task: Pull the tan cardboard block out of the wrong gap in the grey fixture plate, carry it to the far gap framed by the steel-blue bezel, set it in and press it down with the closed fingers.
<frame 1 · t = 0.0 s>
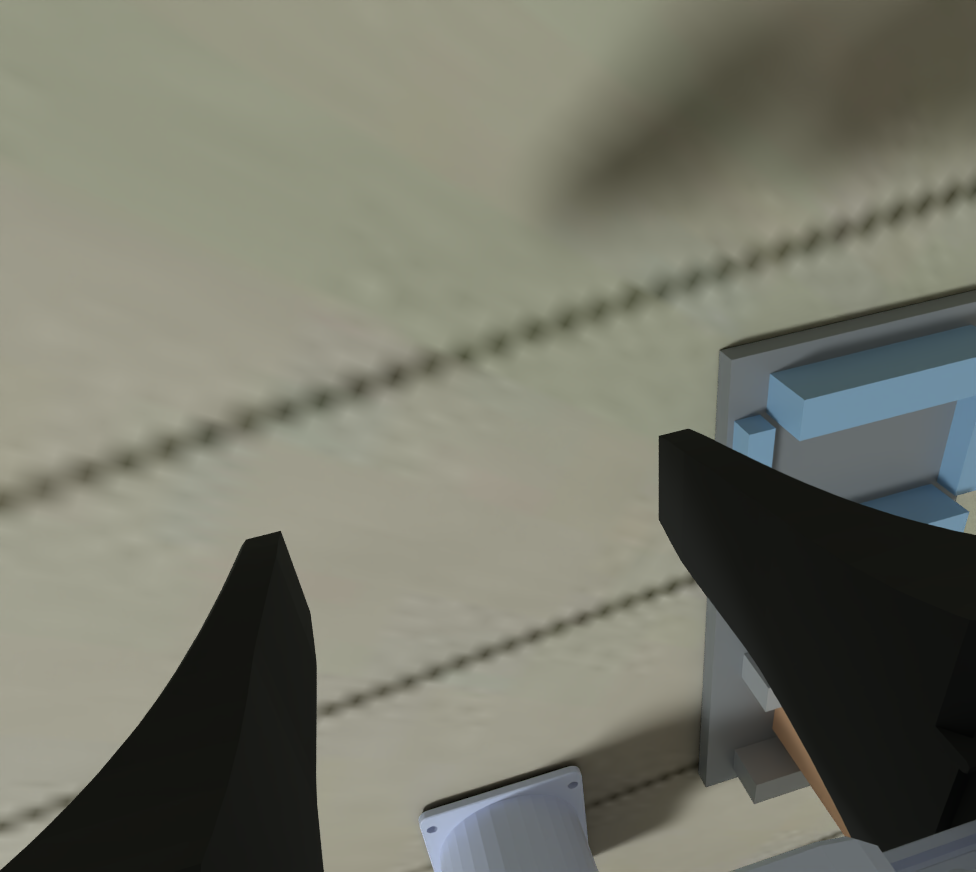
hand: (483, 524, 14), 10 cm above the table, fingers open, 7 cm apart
grey fixture plate: (819, 573, 33), on the table
tan cardboard block: (812, 691, 36), point 1 cm above the table, touching grey fixture plate
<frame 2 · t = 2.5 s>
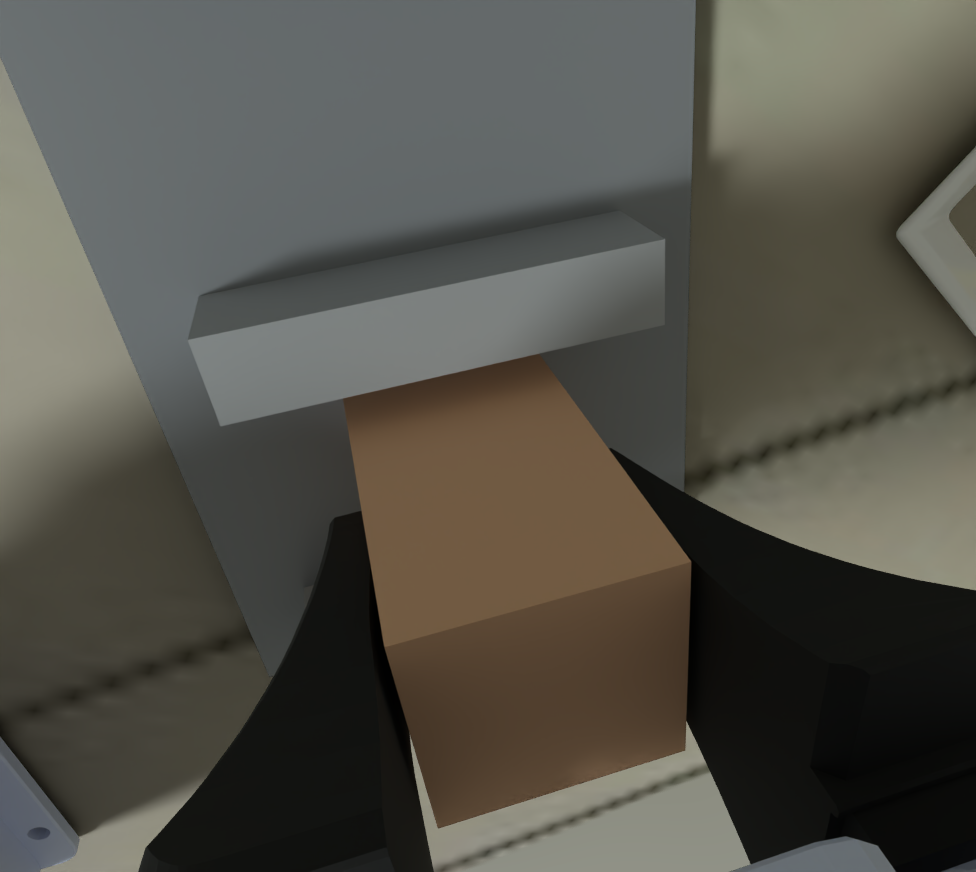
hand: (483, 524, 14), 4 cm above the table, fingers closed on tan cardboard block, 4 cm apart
grey fixture plate: (381, 82, 13), on the table
tan cardboard block: (453, 446, 16), point 1 cm above the table, touching grey fixture plate, gripper
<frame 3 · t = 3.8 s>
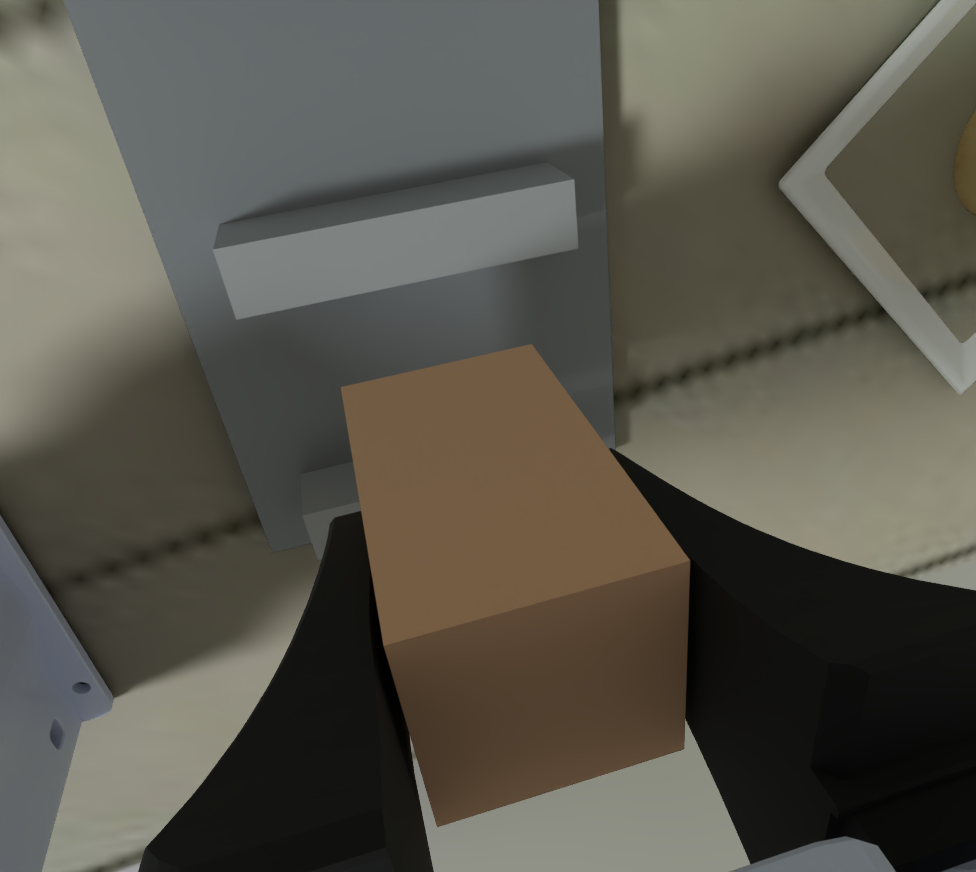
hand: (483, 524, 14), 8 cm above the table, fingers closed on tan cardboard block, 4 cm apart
grey fixture plate: (359, 60, 17), on the table
tan cardboard block: (452, 446, 16), point 6 cm above the table, touching gripper
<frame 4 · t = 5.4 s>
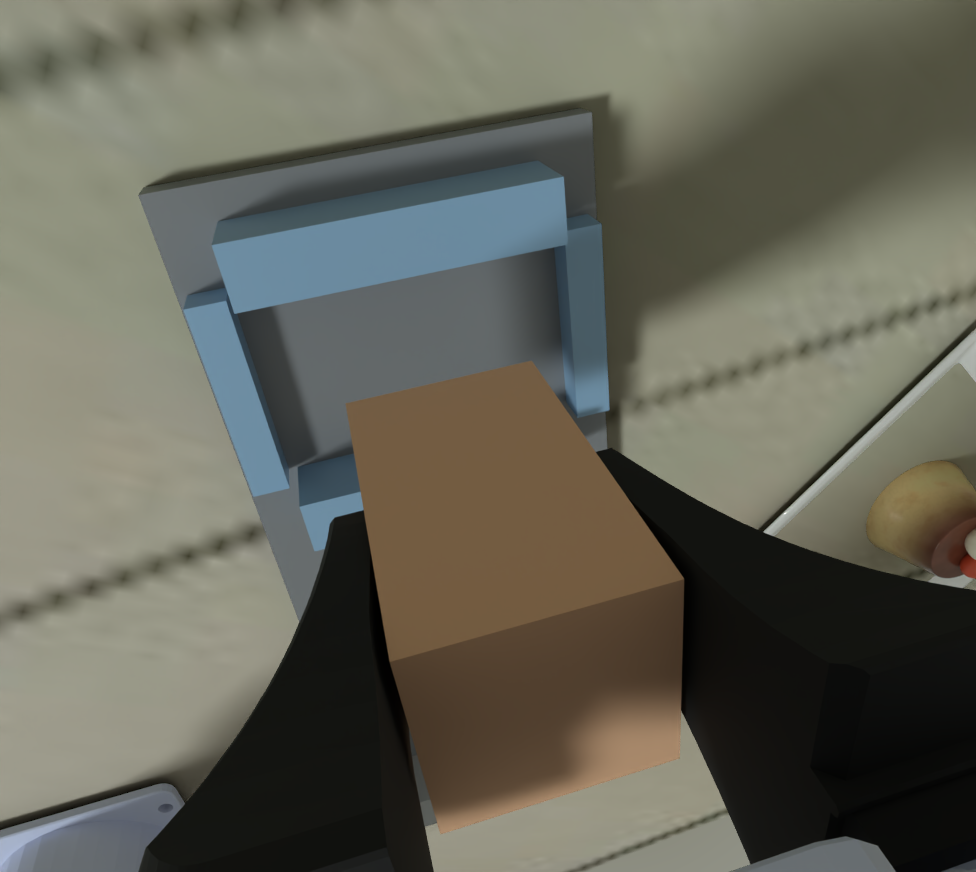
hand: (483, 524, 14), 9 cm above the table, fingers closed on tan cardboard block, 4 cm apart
grey fixture plate: (448, 531, 25), on the table
dessert: (902, 496, 31), on the table
tan cardboard block: (454, 459, 16), point 6 cm above the table, touching gripper
when the fingers open (4 cm above the table, at t = 6.5 s): tan cardboard block stays where it is, resting on grey fixture plate.
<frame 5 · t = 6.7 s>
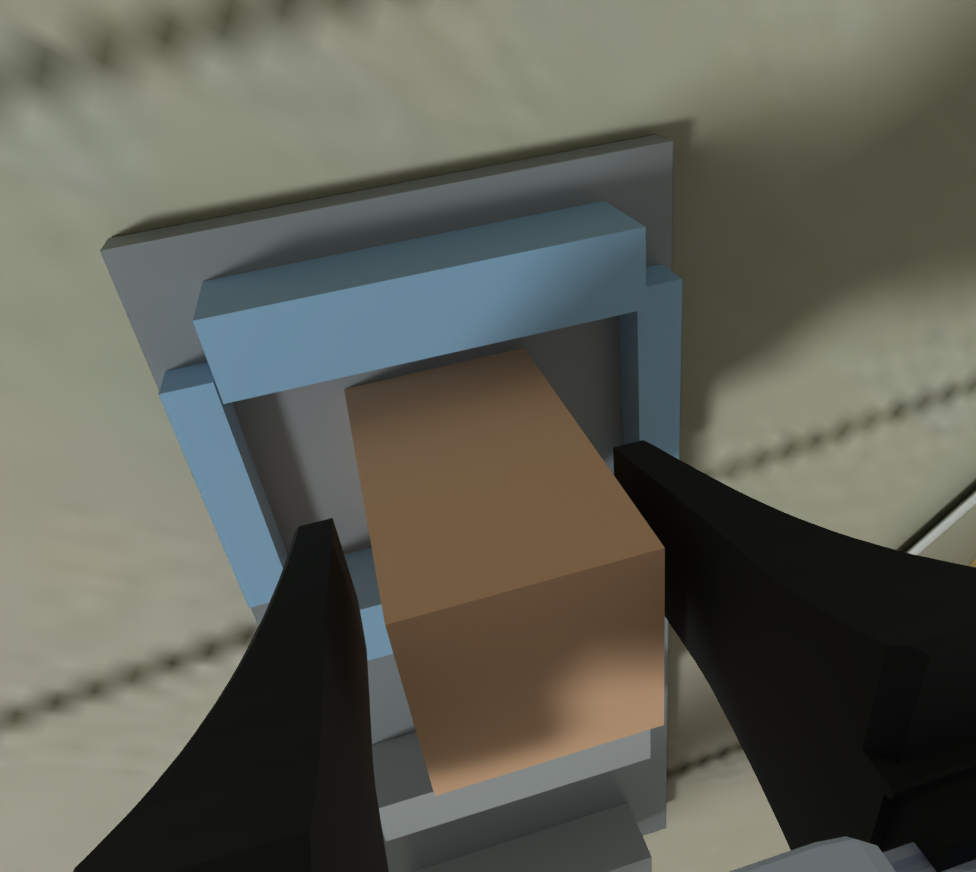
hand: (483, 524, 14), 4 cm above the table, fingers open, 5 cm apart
grey fixture plate: (479, 624, 21), on the table
tan cardboard block: (449, 444, 17), point 1 cm above the table, touching grey fixture plate
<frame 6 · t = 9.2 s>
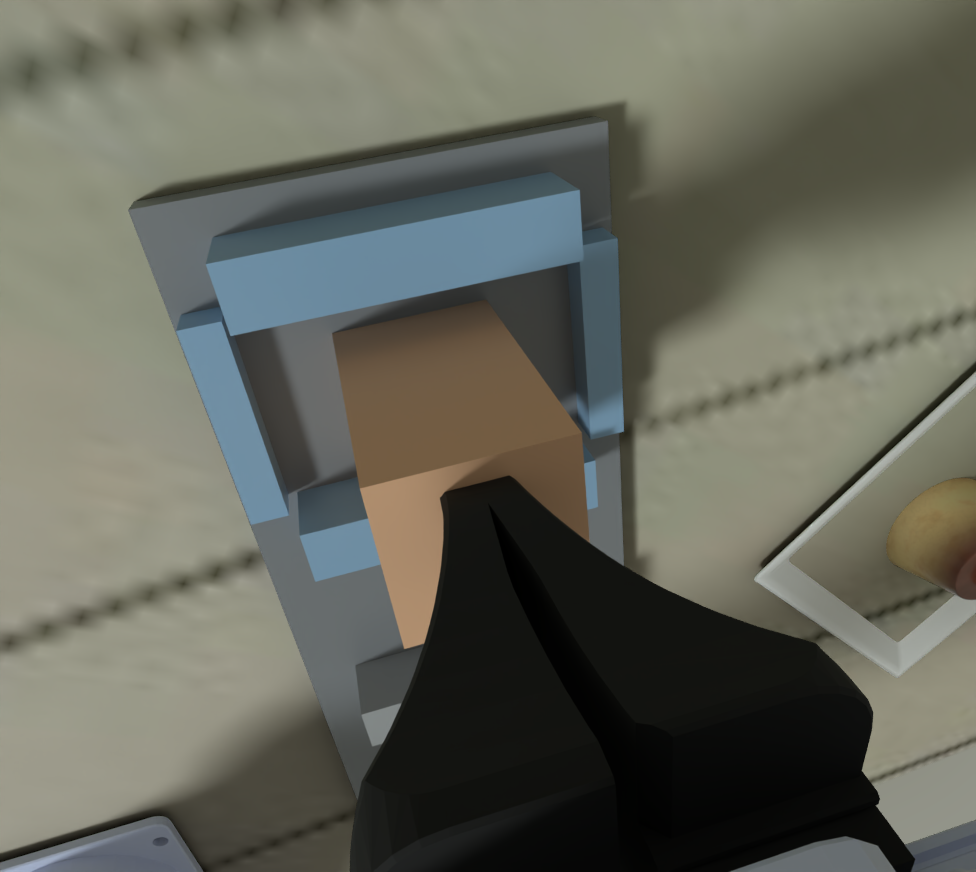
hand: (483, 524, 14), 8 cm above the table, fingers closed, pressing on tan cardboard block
grey fixture plate: (454, 555, 24), on the table
dessert: (923, 514, 30), on the table
tan cardboard block: (423, 384, 20), point 1 cm above the table, touching grey fixture plate, gripper
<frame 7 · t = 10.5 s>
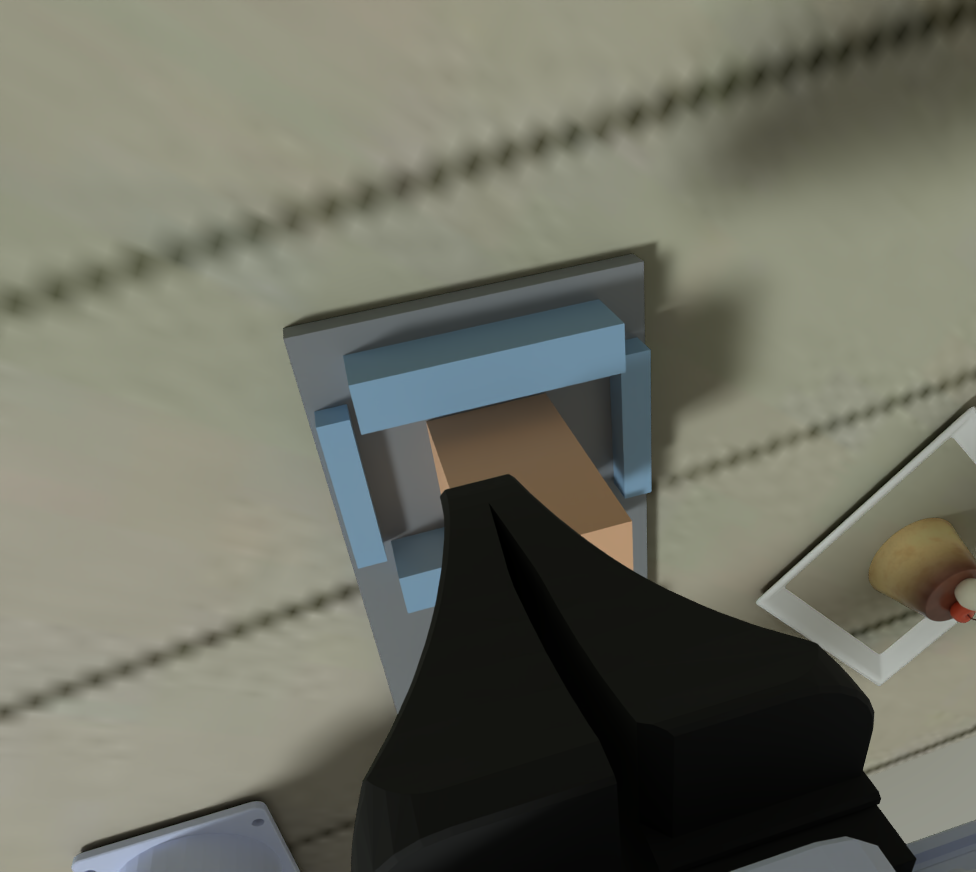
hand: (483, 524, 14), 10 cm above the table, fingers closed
grey fixture plate: (509, 586, 29), on the table
dessert: (900, 546, 35), on the table
tan cardboard block: (494, 457, 25), point 1 cm above the table, touching grey fixture plate
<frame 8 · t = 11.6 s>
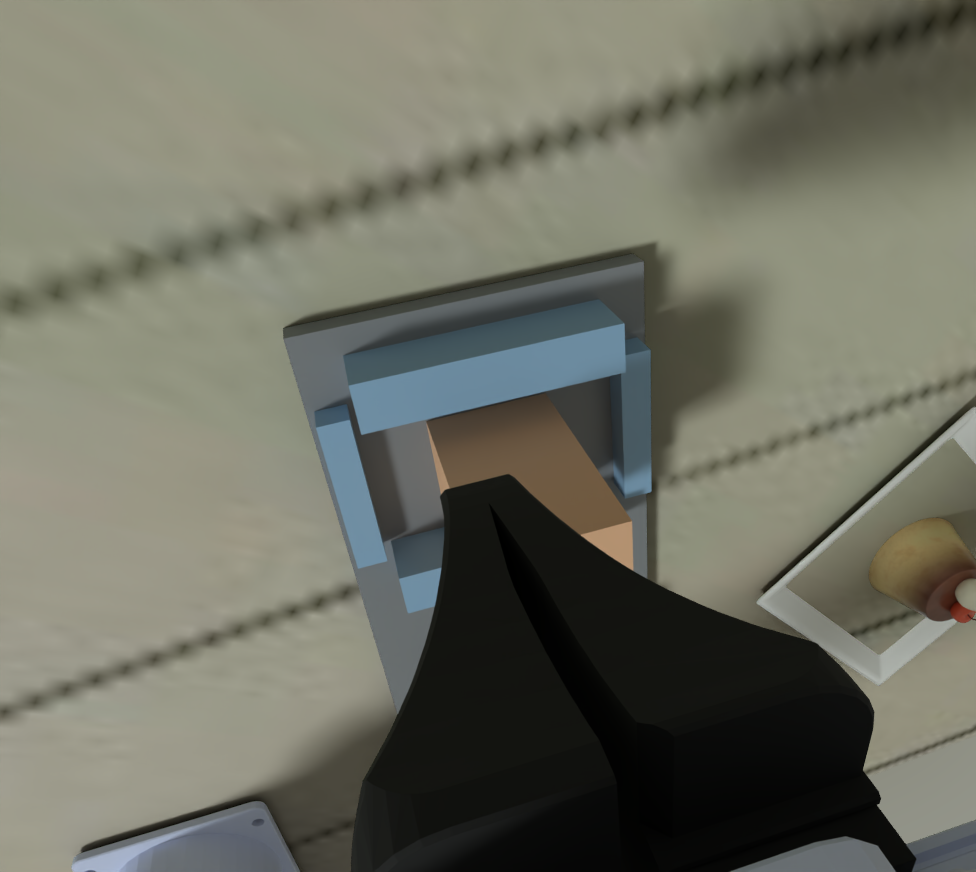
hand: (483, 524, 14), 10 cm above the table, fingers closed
grey fixture plate: (509, 586, 29), on the table
dessert: (900, 546, 35), on the table
tan cardboard block: (494, 457, 25), point 1 cm above the table, touching grey fixture plate
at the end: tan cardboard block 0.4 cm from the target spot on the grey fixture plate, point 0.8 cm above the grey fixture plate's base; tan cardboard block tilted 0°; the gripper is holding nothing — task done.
